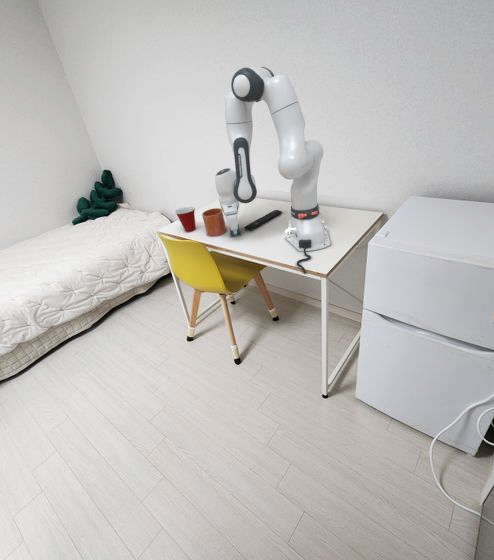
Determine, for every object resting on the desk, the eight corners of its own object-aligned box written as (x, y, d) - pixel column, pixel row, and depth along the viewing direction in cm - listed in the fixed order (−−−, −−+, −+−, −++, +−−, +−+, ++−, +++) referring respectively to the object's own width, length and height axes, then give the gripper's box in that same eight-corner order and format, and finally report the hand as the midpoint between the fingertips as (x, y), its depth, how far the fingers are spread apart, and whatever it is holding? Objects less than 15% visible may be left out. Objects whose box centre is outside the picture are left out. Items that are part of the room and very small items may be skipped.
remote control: (244, 229, 158) (244, 226, 157) (275, 211, 170) (275, 209, 169) (251, 231, 154) (251, 228, 154) (282, 213, 167) (282, 211, 166)
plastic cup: (203, 225, 172) (197, 204, 165) (195, 233, 163) (189, 212, 157) (185, 225, 175) (179, 205, 169) (177, 234, 167) (171, 213, 160)
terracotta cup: (226, 234, 157) (222, 213, 151) (207, 238, 157) (201, 217, 151) (226, 226, 165) (221, 206, 159) (207, 230, 165) (202, 210, 159)
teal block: (240, 235, 153) (239, 227, 151) (231, 237, 153) (229, 229, 151) (239, 231, 157) (238, 223, 155) (230, 233, 157) (229, 225, 155)
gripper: (222, 199, 155) (227, 224, 163) (223, 213, 138) (229, 240, 146) (234, 196, 155) (239, 221, 163) (237, 210, 138) (243, 238, 146)
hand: (235, 231), depth 154 cm, fingers closed on teal block, 5 cm apart
